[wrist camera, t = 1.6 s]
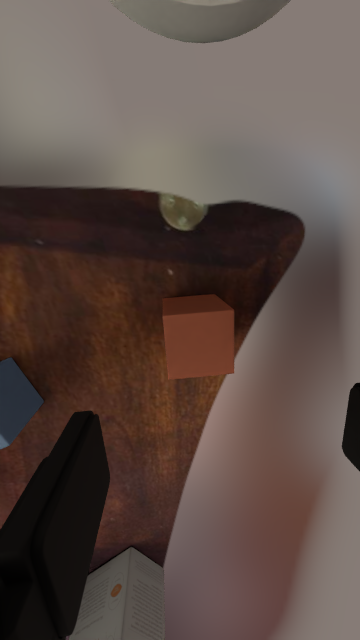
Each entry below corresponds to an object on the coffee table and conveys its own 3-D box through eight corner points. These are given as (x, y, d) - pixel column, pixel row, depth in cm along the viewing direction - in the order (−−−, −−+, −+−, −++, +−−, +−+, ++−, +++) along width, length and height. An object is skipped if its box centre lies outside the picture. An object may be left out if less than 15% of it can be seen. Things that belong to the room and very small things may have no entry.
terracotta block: (162, 298, 19) (162, 315, 14) (214, 293, 19) (234, 309, 14) (167, 346, 20) (168, 380, 15) (216, 342, 21) (234, 373, 15)
